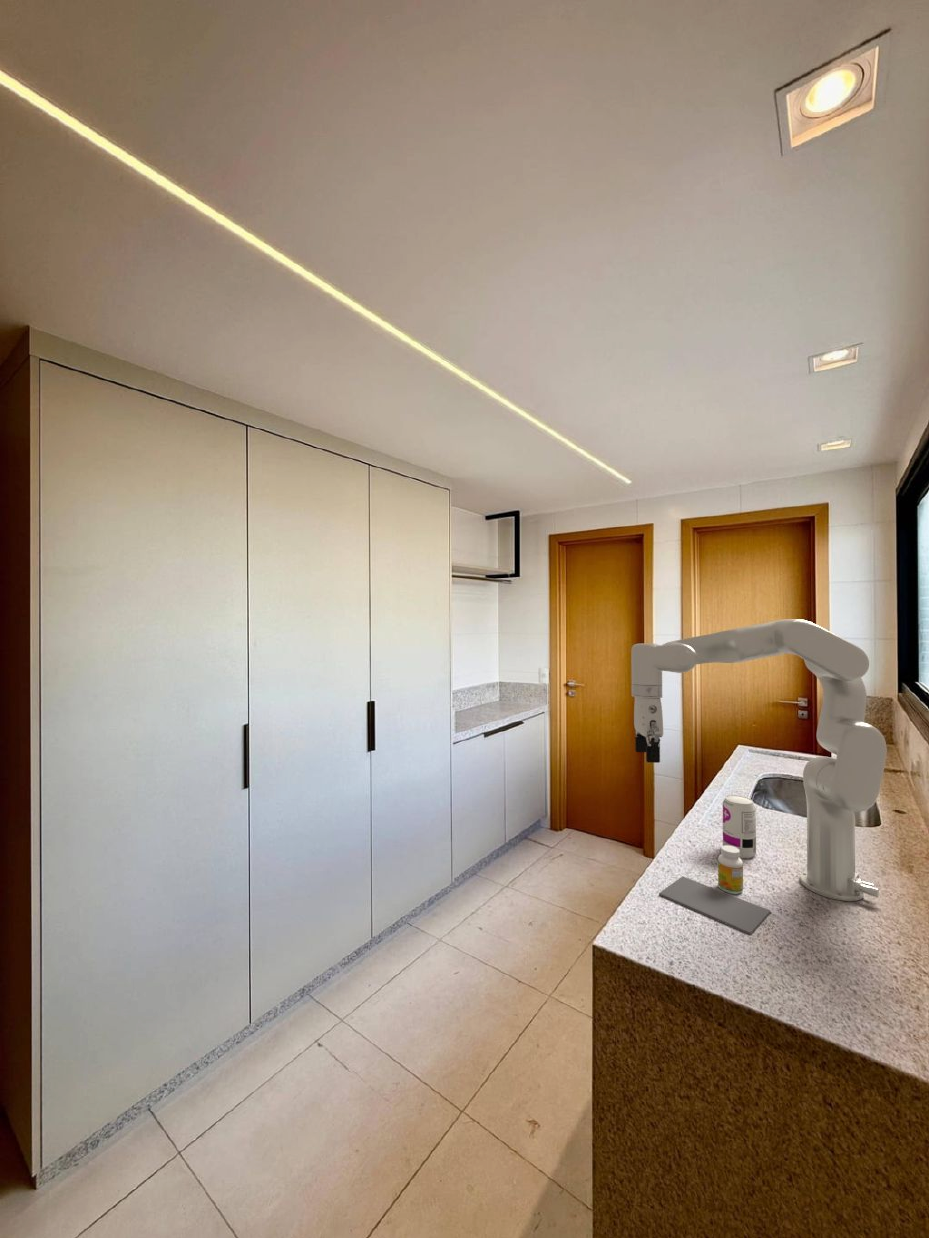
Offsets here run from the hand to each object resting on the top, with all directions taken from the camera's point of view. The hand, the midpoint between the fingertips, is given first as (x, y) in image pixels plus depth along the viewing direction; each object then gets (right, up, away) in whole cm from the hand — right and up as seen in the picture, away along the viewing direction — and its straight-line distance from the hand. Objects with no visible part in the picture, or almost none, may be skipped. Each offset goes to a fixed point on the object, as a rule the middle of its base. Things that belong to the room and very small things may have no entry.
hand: (647, 756), depth 128 cm
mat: (+10, -30, -14) cm, 35 cm away
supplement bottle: (+18, -30, -7) cm, 36 cm away
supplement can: (+30, -31, +12) cm, 45 cm away
